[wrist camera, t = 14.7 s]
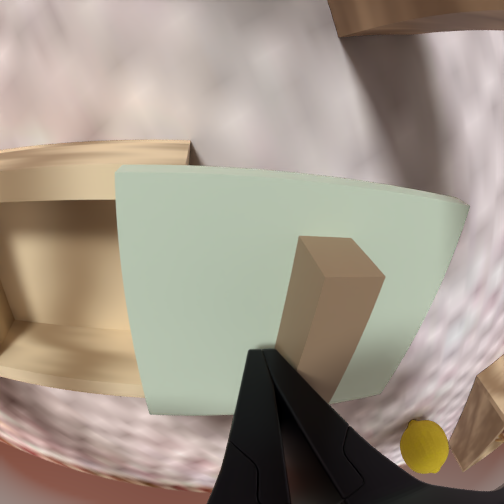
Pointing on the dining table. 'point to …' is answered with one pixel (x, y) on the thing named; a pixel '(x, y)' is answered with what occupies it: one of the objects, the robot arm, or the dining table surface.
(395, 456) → the dining table surface
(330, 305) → the lid
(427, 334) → the dining table surface
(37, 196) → the open wooden box
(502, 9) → the tan rectangular bar
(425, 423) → the lemon
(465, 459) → the bread crate
